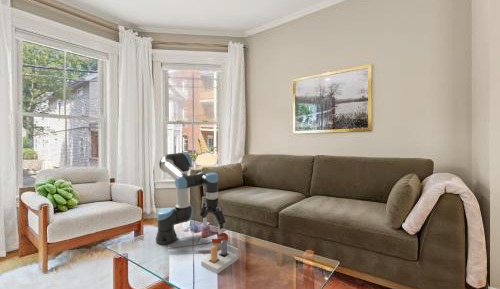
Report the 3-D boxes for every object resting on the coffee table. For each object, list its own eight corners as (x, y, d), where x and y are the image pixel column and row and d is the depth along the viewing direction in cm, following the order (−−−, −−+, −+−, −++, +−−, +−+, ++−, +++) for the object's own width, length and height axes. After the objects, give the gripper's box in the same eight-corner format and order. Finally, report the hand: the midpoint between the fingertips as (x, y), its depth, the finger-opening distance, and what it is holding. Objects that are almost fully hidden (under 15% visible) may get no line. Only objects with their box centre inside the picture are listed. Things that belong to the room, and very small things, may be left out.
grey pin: (219, 258, 173) (219, 241, 172) (223, 256, 176) (223, 239, 175) (224, 260, 171) (224, 243, 169) (228, 258, 174) (228, 240, 173)
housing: (201, 265, 166) (201, 255, 165) (223, 252, 182) (223, 242, 181) (217, 273, 157) (217, 262, 156) (238, 258, 173) (238, 248, 172)
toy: (225, 252, 182) (225, 240, 181) (211, 250, 184) (211, 239, 183) (230, 243, 194) (230, 232, 193) (216, 241, 196) (216, 231, 195)
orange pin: (209, 265, 166) (209, 247, 165) (214, 262, 169) (214, 244, 168) (214, 267, 164) (214, 249, 162) (219, 264, 167) (218, 246, 165)
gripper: (194, 195, 168) (194, 226, 171) (222, 204, 153) (222, 238, 156) (202, 192, 174) (203, 222, 177) (231, 200, 159) (231, 233, 162)
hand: (212, 230), depth 167 cm, fingers open, 13 cm apart
